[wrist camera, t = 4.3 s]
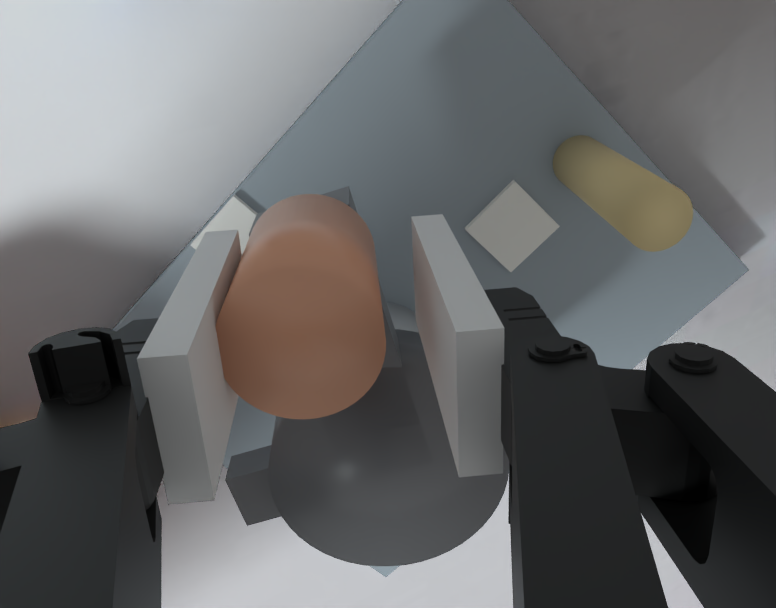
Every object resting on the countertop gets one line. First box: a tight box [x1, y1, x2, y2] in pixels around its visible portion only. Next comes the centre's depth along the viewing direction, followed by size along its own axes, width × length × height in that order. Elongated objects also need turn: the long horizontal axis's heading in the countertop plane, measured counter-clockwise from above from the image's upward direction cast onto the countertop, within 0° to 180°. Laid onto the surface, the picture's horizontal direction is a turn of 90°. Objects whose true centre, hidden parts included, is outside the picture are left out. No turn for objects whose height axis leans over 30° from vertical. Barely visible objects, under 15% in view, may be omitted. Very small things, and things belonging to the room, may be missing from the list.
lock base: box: [112, 0, 749, 577], centre depth 24 cm, size 20×16×8 cm
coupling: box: [215, 186, 509, 566], centre depth 18 cm, size 12×10×7 cm
